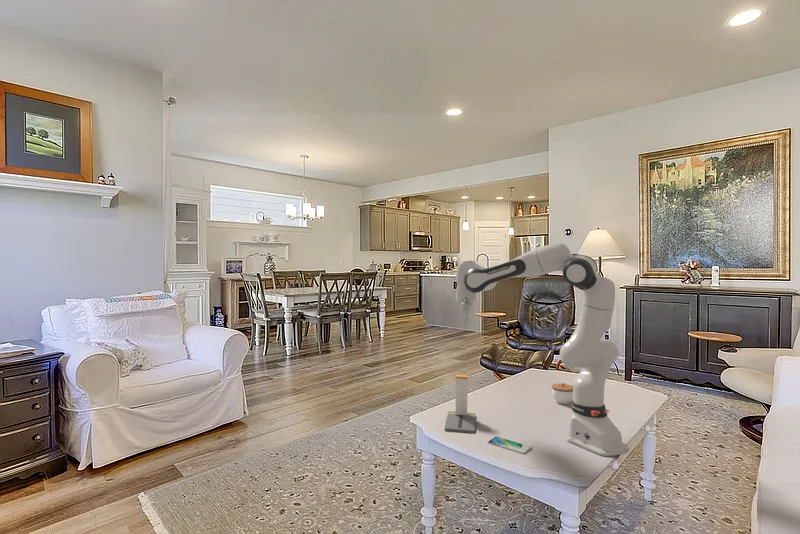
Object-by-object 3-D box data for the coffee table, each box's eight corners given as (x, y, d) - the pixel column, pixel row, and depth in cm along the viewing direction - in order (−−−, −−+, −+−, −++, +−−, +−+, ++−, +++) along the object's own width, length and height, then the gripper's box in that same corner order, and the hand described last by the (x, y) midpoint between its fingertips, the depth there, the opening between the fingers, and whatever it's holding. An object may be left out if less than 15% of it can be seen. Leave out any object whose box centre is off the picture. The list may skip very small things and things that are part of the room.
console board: (474, 433, 173) (474, 430, 173) (444, 430, 175) (444, 427, 175) (475, 415, 193) (475, 413, 193) (448, 413, 195) (448, 411, 195)
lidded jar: (570, 399, 217) (571, 380, 217) (577, 406, 207) (577, 386, 207) (548, 398, 219) (549, 379, 218) (554, 405, 208) (554, 385, 208)
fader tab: (467, 415, 189) (467, 377, 189) (455, 414, 190) (455, 376, 190) (467, 413, 192) (467, 375, 192) (455, 412, 193) (456, 374, 193)
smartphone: (524, 453, 154) (486, 442, 164) (524, 456, 154) (486, 444, 164) (532, 446, 160) (495, 435, 169) (532, 449, 160) (495, 438, 169)
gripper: (472, 299, 182) (472, 332, 182) (473, 295, 202) (472, 324, 202) (457, 298, 183) (457, 331, 183) (459, 295, 203) (459, 324, 203)
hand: (465, 327), depth 193 cm, fingers closed
